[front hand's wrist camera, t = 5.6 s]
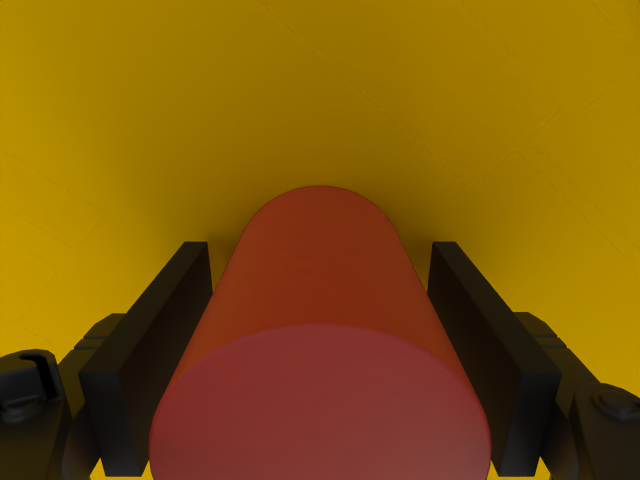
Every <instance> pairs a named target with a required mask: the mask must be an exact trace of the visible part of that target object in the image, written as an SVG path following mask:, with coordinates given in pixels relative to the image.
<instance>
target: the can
mask: <svg viewBox="0 0 640 480" xmlns="http://www.w3.org/2000/svg"><path fill="white" fill-rule="evenodd" d="M491 452H492V445H491V433H490V428H489V424H488V421H487V417H486V414H485V412H484V410H483V407H482V405H481V403H480V401H479V399H478V397H477V395H476V393H475V391H474V389H473V387H472V385H471V383H470V381H469V379H468V377H467V375H466V373H465V371H464V368H463V366H462V364H461V362H460V360H459V358H458V356H457V354H456V352H455V350H454V348H453V346H452V344H451V342H450V340H449V338H448V336H447V334H446V332H445V330H444V328H443V326H442V324H441V322H440V320H439V318H438V316H437V313H436V311H435V309H434V307H433V305H432V303H431V301H430V299H429V297H428V295H427V293H426V291H425V289H424V287H423V285H422V283H421V281H420V279H419V277H418V275H417V273H416V271H415V269H414V267H413V265H412V263H411V261H410V259H409V256H408V254H407V252H406V250H405V248H404V246H403V244H402V242H401V240H400V238H399V236H398V234H397V232H396V230H395V228H394V226H393V225H392V223H391V222H390V220H389V219H388V217H387V216H386V215H385V214H384V213H383V212H382V211H381V210H380V209H379V208H378V207H377V206H376V205H374V204H373V203H372V202H370V201H369V200H367V199H366V198H364V197H362V196H360V195H358V194H356V193H354V192H351V191H348V190H345V189H341V188H336V187H330V186H312V187H304V188H299V189H295V190H292V191H289V192H286V193H284V194H282V195H280V196H278V197H276V198H274V199H273V200H271V201H270V202H268V203H267V204H265V205H264V206H263V207H262V208H261V209H260V210H259V211H258V212H257V213H256V214H255V215H254V216H253V218H252V219H251V220H250V221H249V223H248V225H247V226H246V228H245V230H244V232H243V234H242V236H241V238H240V240H239V242H238V244H237V246H236V248H235V250H234V252H233V254H232V256H231V258H230V260H229V262H228V264H227V266H226V268H225V270H224V272H223V274H222V277H221V279H220V281H219V283H218V285H217V287H216V289H215V291H214V293H213V295H212V297H211V299H210V301H209V303H208V305H207V307H206V309H205V311H204V313H203V315H202V317H201V319H200V321H199V323H198V325H197V327H196V329H195V331H194V333H193V335H192V337H191V340H190V342H189V344H188V346H187V348H186V350H185V352H184V354H183V356H182V358H181V360H180V362H179V364H178V366H177V368H176V370H175V372H174V374H173V376H172V378H171V380H170V382H169V384H168V386H167V388H166V390H165V392H164V394H163V396H162V398H161V401H160V403H159V405H158V407H157V410H156V412H155V415H154V417H153V420H152V424H151V429H150V434H149V451H148V454H149V462H150V468H151V473H152V476H153V479H154V480H487V476H488V472H489V469H490V462H491Z"/></svg>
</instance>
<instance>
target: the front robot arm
mask: <svg viewBox="0 0 640 480" xmlns="http://www.w3.org/2000/svg"><path fill="white" fill-rule="evenodd" d="M212 295H213V289H212V280H211V271H210V262H209V253H208V244H207V242H184V243H183V244H182V246H181V247H180V248H179V249H178V251H177V252H176V253H175V254H174V255H173V257H172V258H171V259H170V260H169V262H168V263H167V264H166V265H165V266H164V268H163V269H162V270H161V271H160V273H159V274H158V275H157V276H156V277H155V279H154V280H153V281H152V282H151V284H150V285H149V286H148V287H147V288H146V290H145V291H144V292H143V293H142V295H141V296H140V297H139V298H138V299H137V301H136V302H135V303H134V304H133V306H132V307H131V308H130V309H129V311H128V312H127V313H112V314H110V315H109V316H107V317H106V318H104V319H102V320H101V321H99V322H98V323H96V324H94V326H93V327H92V328H91V329H90V330H89V331H88V332H87V333H86V334H85V335H84V337H83V339H81V340H80V341H79V342H78V343H77V344H76V345H75V347H74V350H71V351H70V352H69V353H68V354H67V355H66V356H65V358H64V359H63V360H62V361H61V362H60V363H59V364H58V365H57V362H56V359H55V355H54V354H52V353H51V352H49V351H48V350H41V349H31V350H22V351H19V352H15V353H12V354H8V355H5V356H3V357H1V358H0V480H91V478H90V474H91V473H92V471H93V469H94V467H95V466H96V464H97V462H98V460H99V459H100V458H101V461H102V465H103V469H104V472H105V476H106V477H141V476H142V474H143V472H144V470H145V467H146V465H147V463H148V461H149V454H148V451H149V434H150V429H151V424H152V420H153V417H154V415H155V412H156V410H157V407H158V405H159V403H160V401H161V398H162V396H163V394H164V392H165V390H166V388H167V386H168V384H169V382H170V380H171V378H172V376H173V374H174V372H175V370H176V368H177V366H178V364H179V362H180V360H181V358H182V356H183V354H184V352H185V350H186V348H187V346H188V344H189V342H190V340H191V337H192V335H193V333H194V331H195V329H196V327H197V325H198V323H199V321H200V319H201V317H202V315H203V313H204V311H205V309H206V307H207V305H208V303H209V301H210V299H211V297H212ZM427 295H428V297H429V299H430V301H431V303H432V305H433V307H434V309H435V311H436V313H437V316H438V318H439V320H440V322H441V324H442V326H443V328H444V330H445V332H446V334H447V336H448V338H449V340H450V342H451V344H452V346H453V348H454V350H455V352H456V354H457V356H458V358H459V360H460V362H461V364H462V366H463V368H464V371H465V373H466V375H467V377H468V379H469V381H470V383H471V385H472V387H473V389H474V391H475V393H476V395H477V397H478V399H479V401H480V403H481V405H482V407H483V410H484V412H485V414H486V417H487V421H488V424H489V428H490V433H491V445H492V452H491V461H492V463H493V465H494V467H495V470H496V472H497V474H498V476H499V477H534V476H535V472H536V469H537V465H538V461H539V458H540V457H541V458H542V460H543V462H544V463H545V465H546V467H547V469H548V470H549V472H550V474H551V475H550V478H549V480H640V398H639V397H637V396H635V395H634V394H632V393H630V392H628V391H626V390H624V389H622V388H619V387H616V386H613V385H609V384H605V383H600V382H599V381H598V380H597V379H596V377H595V376H594V375H593V374H592V373H591V372H590V371H589V370H588V369H587V368H586V366H585V365H584V364H583V363H582V362H581V361H580V360H579V359H578V358H577V357H576V356H575V354H574V353H573V352H572V351H571V350H570V349H569V348H567V347H566V345H565V344H564V342H563V341H562V340H561V339H560V338H557V335H556V334H555V333H554V332H553V330H552V329H551V328H550V327H549V326H548V325H547V324H546V323H545V322H543V321H542V320H540V319H538V318H537V317H535V316H534V315H532V314H530V313H529V312H512V310H511V309H510V308H509V307H508V306H507V304H506V303H505V302H504V301H503V299H502V298H501V297H500V296H499V295H498V293H497V292H496V291H495V290H494V288H493V287H492V286H491V285H490V284H489V282H488V281H487V280H486V279H485V277H484V276H483V275H482V274H481V273H480V271H479V270H478V269H477V268H476V266H475V265H474V264H473V263H472V262H471V260H470V259H469V258H468V257H467V255H466V254H465V253H464V252H463V251H462V249H461V248H460V247H459V246H458V244H457V243H456V242H433V244H432V253H431V262H430V271H429V280H428V289H427Z"/></svg>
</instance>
